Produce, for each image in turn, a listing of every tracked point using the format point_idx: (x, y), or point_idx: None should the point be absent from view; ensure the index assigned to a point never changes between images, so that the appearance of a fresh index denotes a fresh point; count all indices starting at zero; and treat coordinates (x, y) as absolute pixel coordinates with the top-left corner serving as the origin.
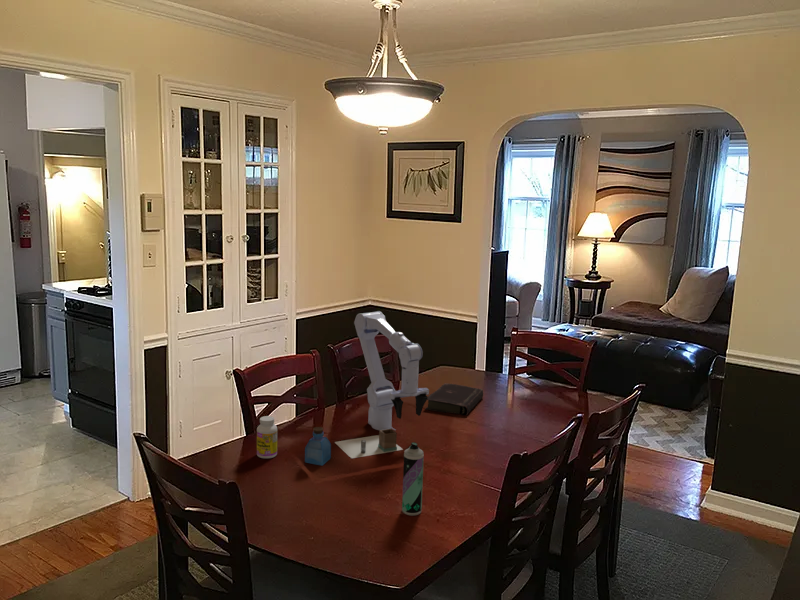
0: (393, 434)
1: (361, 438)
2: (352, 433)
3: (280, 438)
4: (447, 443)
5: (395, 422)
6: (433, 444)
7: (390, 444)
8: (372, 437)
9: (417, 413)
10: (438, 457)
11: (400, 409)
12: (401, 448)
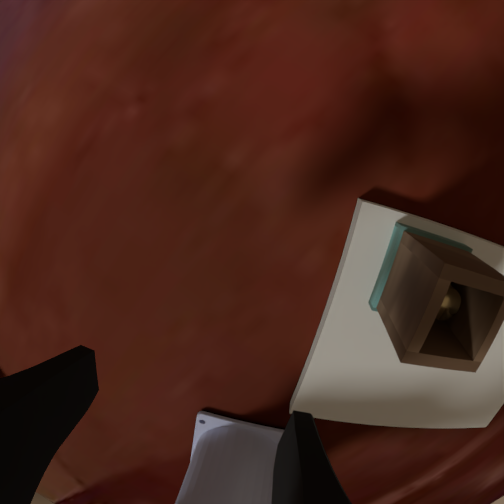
0: (464, 266)
1: (403, 422)
2: (356, 468)
3: (495, 481)
4: (70, 161)
5: (150, 448)
6: (128, 189)
7: (447, 248)
8: (362, 411)
9: (89, 378)
10: (225, 30)
11: (323, 494)
12: (360, 219)
